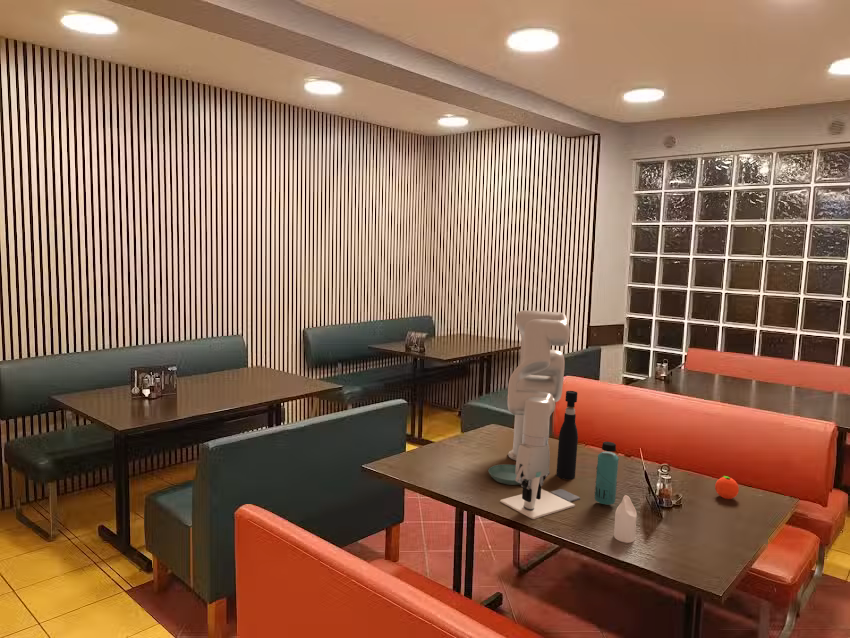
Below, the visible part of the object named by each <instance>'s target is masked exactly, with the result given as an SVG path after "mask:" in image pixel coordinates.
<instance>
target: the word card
mask: <svg viewBox="0 0 850 638" xmlns="http://www.w3.org/2000/svg"><path fill="white" fill-rule="evenodd" d="M550 493H552V494H554V495H556V496H558V497H560V498H562V499H564V500H566V501H568V502H571V503H572V502H574V501H578V500H581V497H580V496H578V495H577V494H576V495H575V494H574V493H571V492H570V491H567V490H565V489H563V488H559V489H556V490H555V489H554V490H552V491H551V490H550Z"/></svg>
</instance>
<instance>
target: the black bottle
mask: <svg viewBox="0 0 850 638" xmlns="http://www.w3.org/2000/svg"><path fill="white" fill-rule="evenodd" d="M565 402H566V408H565V412H564V417H563V423H562V425H561V428H560V431H559V433H558V448H557V460H556V477H558V478H559V479H561V480H562V479H563V480H568V481H569V480H574V479H575V478H576V468H577V454H578V444H579V442H578V441H579V440H578V439H579V434H578V428H577V424H576V416H577V415H576V409H575V404H576V403H577V402H578V391H575V390H566V391H565Z"/></svg>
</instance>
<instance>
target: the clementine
mask: <svg viewBox="0 0 850 638" xmlns="http://www.w3.org/2000/svg"><path fill="white" fill-rule="evenodd" d="M738 484H739V483H738V482H737V481H736V480H735V479H733V478H732V477H729V476H726V475H722V476H721V477H720V478H719V479H717V480H716V482H715V484H714V485H715V486H714V487H715V492H716V493H717V495H718V496H719V497H721V498H722V499H725V500H731V499H734V498H736V497H737V496H738V494H739V489H740V486H739V485H738Z"/></svg>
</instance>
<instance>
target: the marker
mask: <svg viewBox="0 0 850 638" xmlns="http://www.w3.org/2000/svg"><path fill="white" fill-rule="evenodd" d="M540 476H541V472H537V473H536V477H535V478H534V479H532V481H531V488H530V489H532V496H531V502H527V501H524V506H523V507H524V508H525V509H526V510H529V511H532V510H534V507H535V502H536V496H537V491H538V486H539V481H540Z"/></svg>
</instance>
